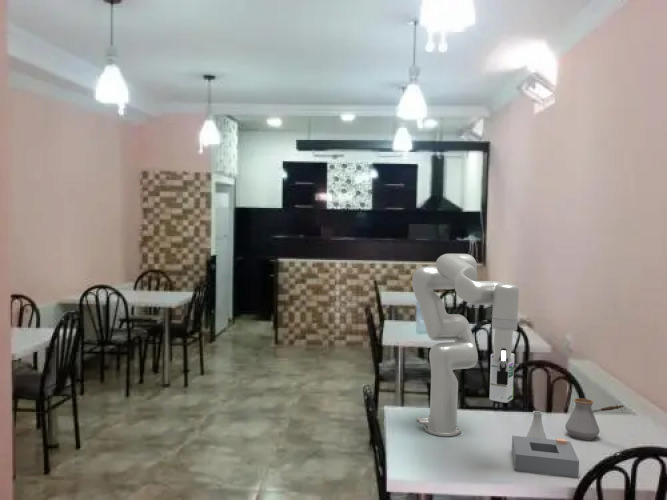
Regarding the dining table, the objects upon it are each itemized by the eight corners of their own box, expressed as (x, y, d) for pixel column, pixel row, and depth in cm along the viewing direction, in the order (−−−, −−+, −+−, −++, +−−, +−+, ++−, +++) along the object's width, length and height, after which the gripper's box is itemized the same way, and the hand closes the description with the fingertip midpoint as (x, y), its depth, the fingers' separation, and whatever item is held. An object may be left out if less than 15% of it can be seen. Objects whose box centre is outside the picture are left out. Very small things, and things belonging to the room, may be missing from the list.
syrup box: (507, 403, 195) (509, 355, 194) (488, 399, 198) (490, 353, 197) (513, 399, 199) (515, 353, 199) (494, 396, 203) (496, 350, 202)
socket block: (515, 470, 194) (516, 451, 193) (511, 450, 211) (512, 432, 211) (578, 477, 190) (579, 457, 190) (569, 456, 207) (570, 438, 207)
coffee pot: (557, 433, 231) (560, 392, 230) (578, 429, 237) (580, 389, 236) (611, 452, 213) (613, 408, 212) (632, 447, 219) (634, 403, 218)
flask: (548, 445, 218) (550, 416, 217) (526, 443, 219) (527, 414, 219) (546, 438, 225) (547, 410, 224) (524, 436, 226) (525, 408, 226)
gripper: (491, 319, 207) (489, 374, 208) (492, 327, 190) (489, 387, 191) (516, 321, 205) (513, 376, 206) (518, 329, 188) (515, 389, 189)
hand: (501, 381), depth 198 cm, fingers closed on syrup box, 7 cm apart
